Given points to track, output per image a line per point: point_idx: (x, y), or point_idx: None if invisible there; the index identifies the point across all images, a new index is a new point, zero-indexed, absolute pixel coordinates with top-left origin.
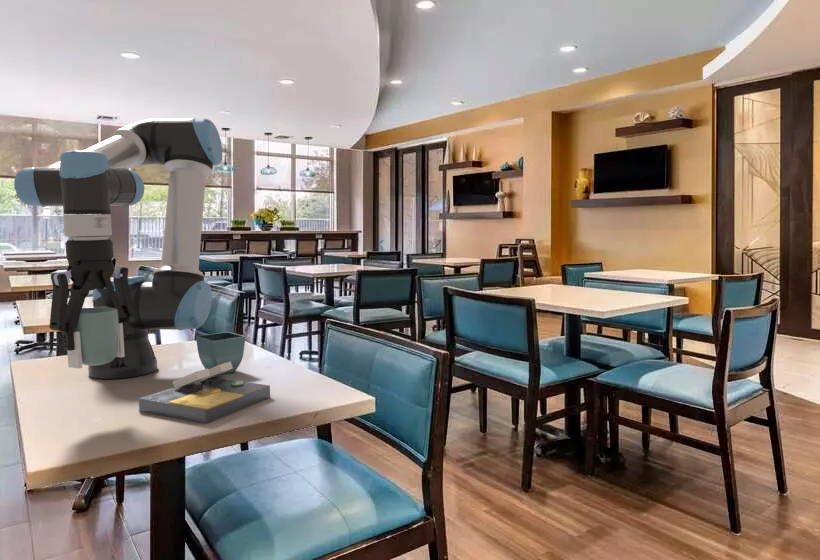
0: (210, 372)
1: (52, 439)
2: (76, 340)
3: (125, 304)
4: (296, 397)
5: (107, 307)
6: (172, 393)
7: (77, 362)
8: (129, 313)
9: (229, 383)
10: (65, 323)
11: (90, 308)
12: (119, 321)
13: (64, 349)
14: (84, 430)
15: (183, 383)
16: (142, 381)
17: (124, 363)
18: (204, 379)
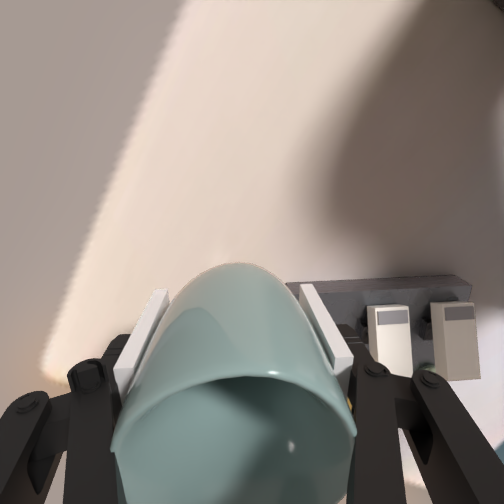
0: (439, 344)
1: (115, 286)
2: None
3: (428, 479)
4: None
5: (348, 441)
6: (342, 321)
7: None
8: (407, 435)
9: (432, 356)
10: (55, 470)
11: (293, 382)
12: (350, 398)
13: (118, 337)
14: (170, 291)
15: (370, 335)
16: (474, 84)
17: None
18: (431, 317)
